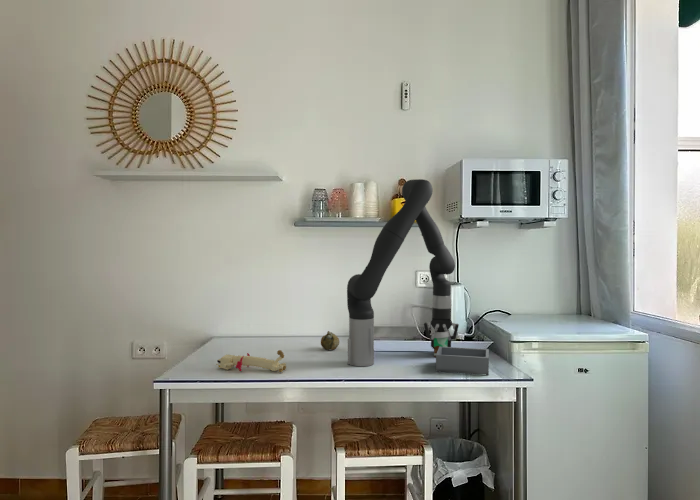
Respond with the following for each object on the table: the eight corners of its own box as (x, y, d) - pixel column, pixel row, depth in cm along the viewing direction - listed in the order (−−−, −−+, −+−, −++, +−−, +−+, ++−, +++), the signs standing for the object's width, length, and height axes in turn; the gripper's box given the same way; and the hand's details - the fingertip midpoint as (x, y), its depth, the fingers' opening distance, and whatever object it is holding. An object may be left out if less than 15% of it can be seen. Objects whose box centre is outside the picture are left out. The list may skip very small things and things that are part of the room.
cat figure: (287, 371, 197) (223, 363, 201) (289, 348, 196) (224, 339, 201) (278, 379, 187) (211, 369, 192) (280, 354, 187) (212, 345, 191)
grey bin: (435, 371, 191) (435, 355, 191) (439, 362, 205) (439, 346, 204) (488, 375, 187) (488, 358, 186) (488, 365, 200) (488, 349, 200)
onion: (343, 349, 226) (343, 330, 225) (326, 352, 221) (326, 332, 221) (333, 346, 232) (333, 328, 232) (317, 349, 227) (317, 330, 227)
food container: (449, 359, 209) (450, 333, 209) (433, 358, 211) (433, 332, 210) (450, 351, 222) (450, 327, 221) (435, 351, 223) (435, 326, 222)
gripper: (422, 307, 214) (421, 349, 214) (459, 308, 210) (458, 352, 211) (424, 304, 221) (423, 345, 222) (460, 306, 217) (459, 348, 218)
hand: (441, 348), depth 216 cm, fingers closed on food container, 5 cm apart
